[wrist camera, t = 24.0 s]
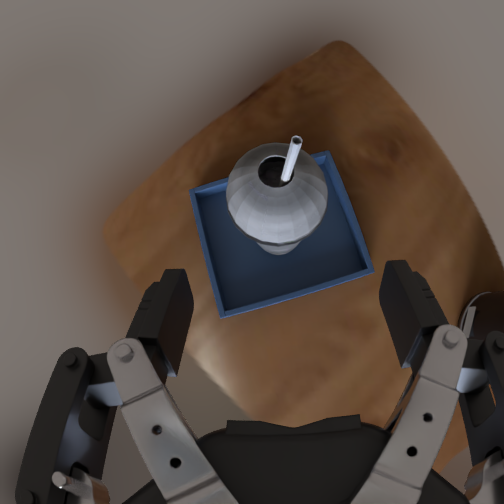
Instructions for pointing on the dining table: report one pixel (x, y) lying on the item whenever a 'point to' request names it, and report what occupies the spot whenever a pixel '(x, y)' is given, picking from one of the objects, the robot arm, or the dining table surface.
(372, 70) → the dining table surface
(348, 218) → the tray
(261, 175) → the beverage cup
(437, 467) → the dining table surface
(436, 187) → the dining table surface
